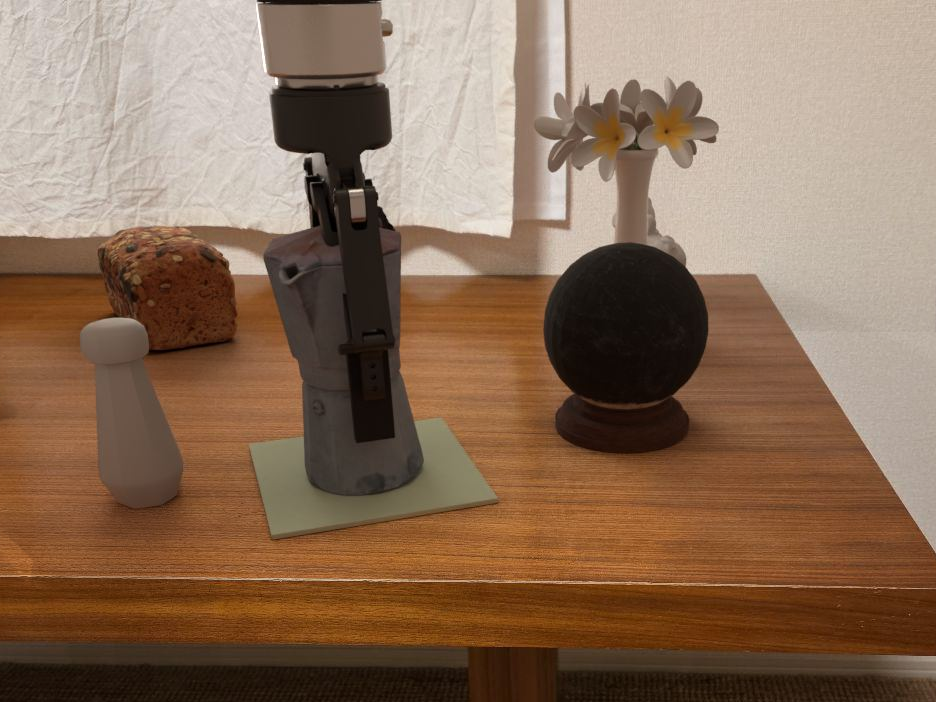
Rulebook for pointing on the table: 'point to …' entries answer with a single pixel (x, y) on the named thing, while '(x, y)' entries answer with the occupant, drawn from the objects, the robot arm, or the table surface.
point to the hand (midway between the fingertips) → (360, 411)
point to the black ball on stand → (625, 347)
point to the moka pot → (339, 364)
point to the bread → (170, 285)
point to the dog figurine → (660, 237)
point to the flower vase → (628, 141)
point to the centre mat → (314, 510)
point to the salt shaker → (130, 417)
